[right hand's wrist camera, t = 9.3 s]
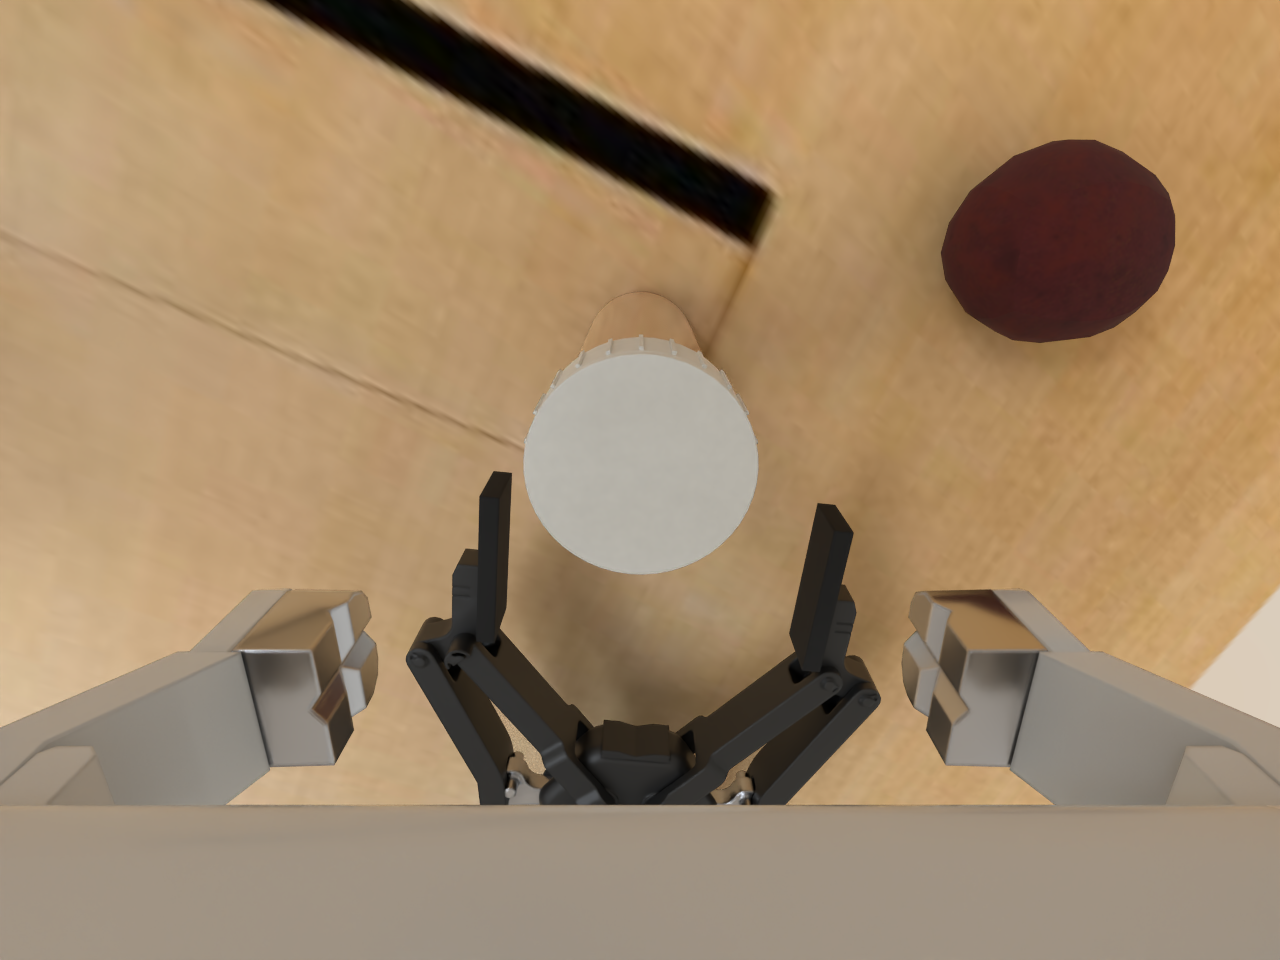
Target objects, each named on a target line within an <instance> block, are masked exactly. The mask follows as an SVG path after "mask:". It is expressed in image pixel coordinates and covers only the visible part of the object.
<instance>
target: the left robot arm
mask: <svg viewBox="0 0 1280 960" xmlns="http://www.w3.org/2000/svg"><path fill="white" fill-rule="evenodd" d="M511 483H512V473H507V472H497V471H494V472H493V473H492V475H491V477H490V479H489V481H488V482H487V484H486V486H485V488H484V489H483V491H482V493H481V495H480V499H479V542H478V550H475V549H465V551H464V553H463V555H462V557H461V559H460V561H459V563H458V565H457V567H456V569H455V571H454V573H453V575H452V586H453V588H452V595H453V596H452V618H450V619H447V620H443V619H441V618H437V617H432V618H429V619H427V620H426V621H425V622H424V623H423V625H422V627H421V629H420V631H419V633H418V635H417V637H416V638H415V640H414V642H413V644H412V646H411V648H410V650H409V652H408V654H407V656H406V662H407V665H408V667H409V668H410V670H411V672H412V674H413V675H414V677H415V679H416V680H417V682H418V684H419V685H420V687H421V689H422V690H423V692H424V694H425V695H426V697H427V699H428V700H429V702H430V704H431V705H432V707H433V709H434V711H435V712H436V714H437V716H438V717H439V719H440V721H441V722H442V724H443V726H444V727H445V729H446V731H447V732H448V734H449V736H450V737H451V739H452V741H453V743H454V744H455V746H456V748H457V749H458V751H459V753H460V754H461V756H462V758H463V759H464V761H465V763H466V764H467V766H468V768H469V769H470V771H471V773H472V774H473V776H474V778H475V780H476V781H477V783H478V791H479V799H480V805H786V804H787V802H788V801H789V800H790V799H791V798H792V797H793V796H794V795H795V794H796V793H797V792H798V791H799V790H800V789H801V788H802V787H803V785H804V784H805V783H806V782H807V781H808V780H809V779H810V778H811V777H812V776H813V775H814V774H815V773H816V772H817V771H818V770H819V768H820V767H821V766H822V765H823V764H824V763H825V762H826V761H827V760H828V759H829V758H830V757H831V756H832V755H833V754H834V753H835V752H836V750H837V749H838V748H839V747H840V746H841V745H842V744H843V743H844V742H845V741H846V740H847V739H848V738H849V737H850V736H851V735H852V733H853V732H854V731H855V730H856V729H857V728H858V727H859V726H860V725H861V724H862V723H863V722H864V721H865V720H866V719H867V718H868V716H869V715H870V714H871V713H872V712H873V711H874V710H875V709H876V708H877V707H878V705H879V704H880V701H881V697H880V695H879V693H878V690H877V688H876V686H875V684H874V682H873V680H872V678H871V676H870V674H869V672H868V670H867V668H866V666H865V664H864V662H863V660H862V659H861V658H860V657H858V656H855V655H854V656H847V657H846V656H845V655H846V651H847V647H848V644H849V640H850V636H851V632H852V628H853V624H854V620H855V616H856V609H855V603H854V601H853V599H852V597H851V595H850V593H849V592H848V590H847V588H846V586H845V585H841V583H842V579H843V575H844V571H845V567H846V562H847V558H848V554H849V550H850V546H851V542H852V538H853V534H854V533H853V531H852V530H851V528H850V527H849V525H848V524H847V522H846V521H845V519H844V518H843V516H842V514H841V513H840V511H839V510H838V508H837V507H836V505H830V504H820V503H818V504H817V509H816V513H815V518H814V522H813V527H812V532H811V536H810V541H809V545H808V550H807V555H806V559H805V564H804V568H803V573H802V578H801V582H800V587H799V591H798V596H797V600H796V605H795V610H794V614H793V619H792V623H791V628H790V633H789V634H790V637H791V640H792V643H793V646H794V649H795V652H794V653H793V654H791V655H790V656H789V657H787V658H786V659H785V660H783V661H782V662H781V663H779V664H778V665H777V666H775V667H774V668H773V669H771V670H770V671H769V672H767V673H766V674H765V675H763V676H762V677H760V678H759V679H758V680H756V681H755V682H754V683H752V684H751V685H750V686H748V687H747V688H746V689H744V690H743V691H742V692H740V693H739V694H738V695H736V696H735V697H734V698H732V699H731V700H730V701H728V702H727V703H726V704H724V705H723V706H722V707H720V708H719V709H717V710H716V711H715V712H713V713H712V714H711V715H709V716H708V717H704V716H698V717H696V718H695V719H694V720H692V721H691V722H690V723H688V724H687V725H686V726H684V727H683V728H682V729H680V730H679V731H678V732H676V733H674V732H671V731H669V725H657V724H650V725H642V726H633V725H630V724H627V723H624V722H620V721H611V720H604V724H603V725H600V726H596V727H593V726H592V724H591V723H590V722H589V721H588V720H587V719H586V718H585V716H584V715H583V714H582V713H581V712H580V711H579V710H578V708H577V707H576V706H574V705H573V704H571V705H567V704H566V703H565V702H564V701H563V700H562V698H561V697H560V696H559V695H558V694H557V693H556V692H555V691H554V689H553V688H552V687H551V686H550V685H549V684H548V683H547V681H546V680H545V679H544V678H543V677H542V676H541V675H540V674H539V672H538V671H537V670H536V669H535V668H534V667H533V666H532V664H531V663H530V662H529V661H528V660H527V659H526V658H525V657H524V655H523V654H522V653H521V652H520V651H519V650H518V649H517V647H516V646H515V645H514V644H513V643H512V642H511V641H510V640H509V638H508V637H507V636H506V635H505V634H504V633H503V632H502V630H501V629H500V625H501V622H502V619H503V616H504V613H505V610H506V603H507V579H508V555H509V531H510V507H511ZM490 700H491V701H492V702H493V703H494V704H495V705H496V706H497V707H498V708H499V710H500V711H501V712H502V713H503V714H504V715H505V716H506V717H507V718H508V719H509V720H510V721H511V722H512V724H513V725H514V726H515V727H516V728H517V729H518V730H519V731H520V732H521V733H522V734H523V735H524V736H525V737H526V739H527V740H528V741H529V742H530V743H531V744H532V745H533V746H534V747H535V748H536V749H537V750H538V751H539V753H540V754H541V756H542V760H543V764H544V766H545V768H546V770H545V771H544V773H543V774H536V773H534V772H532V771H531V770H530V769H529V767H528V765H527V763H526V762H525V761H524V755H523V753H521V752H518V751H517V752H514V751H513V745H512V742H511V739H510V736H509V734H508V732H507V730H506V728H505V726H504V725H503V723H502V721H501V719H500V717H499V716H498V714H497V712H496V710H495V708H494V707H493V705H492V703H491V701H490ZM766 743H767V744H766ZM765 744H766V745H765ZM763 745H765V746H764V747H763V748H762V749H761V750H760V751H759V753H758V754H757V755H756V756H755V758H754V759H753V761H752V762H751V764H750V766H749V768H748V770H747V772H745V771H739V772H737V773H736V780H734V782H733V783H732V784H731V785H730V786H729V787H728V788H726V789H722V790H717V789H716V788H717V787H719V786H720V785H721V784H722V783H723V782H724V781H725V779H726V776H727V774H728V771H729V770H730V769H731V768H732V767H734V766H735V765H737V764H738V763H739V762H741V761H742V760H744V759H745V758H746V757H748V756H749V755H751V754H752V753H753V752H755V751H756V750H758V749H759V748H760V747H762V746H763ZM694 753H696V757H695V756H694Z"/></svg>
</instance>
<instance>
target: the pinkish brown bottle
mask: <svg viewBox="0 0 1280 960" xmlns="http://www.w3.org/2000/svg"><path fill="white" fill-rule="evenodd" d="M639 335H643V337H648V338H658V339H663V340H668V341H669V340H670V338H671V339H674V342H675V343H677V344H680V345H683V346H685V347H687V348H689V349H691V350H693V351H695V352H698V350H699V351H700V352H701V349H700V347H699V345H698V342H697V340H696V338H695V336H694V333H693V331H692V329H691V326H690V324H689V322H688V320H687V318H686V317H685V315H684V314H683V312H682V311H681V310H680V309H679V308H678V307H677V306H676V305H675V304H674V303H673V302H671V301H670V300H668V299H666V298H664V297H662V296H660V295H657V294H654V293H649V292H632V293H628V294H624V295H621V296H619V297H617V298H615V299H613V300H612V301H610V302H609V303H607V304H606V305H605V306H604V307H603V308H602V309H601V310H600V312H599V313H598V314H597V316H596V317H595V319H594V321H593V323H592V325H591V327H590V330H589V332H588V334H587V337H586V339H585V341H584V344H583V346H582V348H581V351H580V352H582V351H583V350H584V351H585V352H587V351H589V350H591V349H593V348H595V347H597V346H599V345H602V344H605V343H607V342H608V339H611V338H612V339H613V341H614V340H619V339H624V338H634V337H639ZM579 355H580V353H579ZM579 355H578V357H579ZM703 357H704V356H703Z"/></svg>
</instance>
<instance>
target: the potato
mask: <svg viewBox="0 0 1280 960" xmlns="http://www.w3.org/2000/svg"><path fill="white" fill-rule="evenodd" d="M1174 247H1175V214H1174V210H1173V207H1172V203H1171V200H1170V197H1169V193H1168V192H1167V191H1166V189H1165V188H1164V186H1163V185H1162V184H1161V182H1160V181H1159V179H1158V178H1157V177H1156V175H1154V174H1153V173H1152V172H1150V171H1149V170H1147V169H1146V168H1145V167H1143V166H1142V165H1140V164H1139V163H1138V162H1136V161H1135V160H1133V159H1132V158H1131V157H1129V156H1128V155H1126V154H1125V153H1123V152H1122V151H1119V150H1117V149H1115V148H1112V147H1110V146H1108V145H1105V144H1103V143H1101V142H1099V141H1096V140H1061V141H1052V142H1050V143H1047V144H1044V145H1042V146H1039V147H1037V148H1034V149H1031V150H1029V151H1026V152H1023V153H1021V154H1018V155H1015V156H1013V157H1012V158H1011V159H1010V160H1008V161H1007V162H1006V163H1005V164H1003V165H1002V166H1001V167H1000V168H998V169H997V170H996V171H995V172H993V173H992V174H991V175H990V176H988V177H987V178H986V179H985V180H983V181H982V182H981V183H980V184H978V185H977V186H976V187H975V188H973V189H972V190H971V191H970V192H969V194H968V195H967V197H966V198H965V200H964V201H963V203H962V204H961V206H960V207H959V209H958V210H957V212H956V213H955V215H954V216H953V218H952V219H951V221H950V222H949V225H948V229H947V233H946V236H945V240H944V244H943V247H942V251H941V256H942V262H943V269H944V275H945V280H946V282H947V283H948V285H949V287H950V288H951V290H952V291H953V293H954V294H955V296H956V298H957V299H958V301H959V302H960V304H961V305H962V307H963V308H964V310H965V312H967V313H968V314H969V315H971V316H972V317H974V318H975V319H977V320H978V321H980V322H981V323H983V324H984V325H986V326H987V327H989V328H991V329H992V330H994V331H995V332H997V333H1000V334H1002V335H1004V336H1006V337H1008V338H1010V339H1012V340H1017V341H1027V342H1037V343H1043V342H1051V341H1060V340H1068V339H1076V338H1085V337H1091V336H1093V335H1096V334H1098V333H1101V332H1103V331H1106V330H1108V329H1111V328H1114V327H1115V326H1117V325H1118V324H1119V323H1121V322H1122V321H1124V320H1125V319H1126V318H1128V317H1129V316H1131V315H1132V314H1133V313H1135V312H1136V311H1137V310H1138V309H1139V308H1140V307H1141V306H1142V305H1143V304H1144V303H1145V302H1146V301H1147V300H1148V299H1149V298H1150V297H1151V296H1152V295H1154V294H1155V293H1156V292H1157V291H1158V289H1159V287H1160V285H1161V283H1162V281H1163V279H1164V277H1165V276H1166V274H1167V272H1168V269H1169V266H1170V262H1171V258H1172V254H1173V251H1174Z"/></svg>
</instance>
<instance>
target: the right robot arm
mask: <svg viewBox="0 0 1280 960" xmlns="http://www.w3.org/2000/svg"><path fill="white" fill-rule="evenodd" d="M370 619H371V612H370V607H369V602H368V597H367V596H366V595H365V594H364V593H363V592H362V591H357V590H305V589H295V590H292V589H261V590H254V591H252V592H250V593H249V594H248V595H247V596H246V597H245V598H244V599H243V600H242V601H241V602H240V603H239V604H238V605H237V606H236V607H235V608H234V609H233V610H232V611H231V612H230V613H229V614H228V615H227V616H226V617H225V618H224V619H223V620H222V621H221V622H219V623H218V624H217V625H216V626H215V627H214V628H213V629H212V630H211V631H210V632H209V633H208V634H207V635H206V636H205V637H204V638H203V639H202V640H201V641H200V642H199V643H198V644H197V645H196V646H195V647H194V648H193V649H192V650H191V651H190V652H176V653H174V654H171V655H169V656H167V657H164V658H162V659H160V660H157V661H155V662H153V663H150V664H148V665H146V666H143V667H141V668H139V669H136V670H134V671H132V672H129V673H127V674H125V675H122V676H120V677H118V678H115V679H113V680H111V681H108V682H106V683H104V684H101V685H99V686H97V687H94V688H92V689H90V690H87V691H85V692H83V693H80V694H78V695H76V696H73V697H71V698H69V699H66V700H64V701H62V702H59V703H57V704H55V705H52V706H50V707H48V708H45V709H43V710H41V711H38V712H36V713H34V714H31V715H29V716H27V717H24V718H22V719H20V720H17V721H15V722H13V723H10V724H8V725H6V726H3V727H1V728H0V960H1280V728H1279V727H1276V726H1274V725H1272V724H1269V723H1267V722H1265V721H1262V720H1260V719H1258V718H1255V717H1253V716H1251V715H1248V714H1246V713H1244V712H1241V711H1239V710H1237V709H1234V708H1232V707H1230V706H1227V705H1225V704H1223V703H1220V702H1218V701H1216V700H1213V699H1211V698H1209V697H1207V696H1204V695H1202V694H1199V693H1197V692H1195V691H1193V690H1190V689H1188V688H1186V687H1183V686H1181V685H1179V684H1176V683H1174V682H1172V681H1169V680H1167V679H1165V678H1162V677H1160V676H1158V675H1155V674H1153V673H1151V672H1148V671H1146V670H1144V669H1141V668H1139V667H1137V666H1134V665H1132V664H1130V663H1127V662H1125V661H1123V660H1120V659H1118V658H1116V657H1113V656H1111V655H1109V654H1106V653H1104V652H1091V651H1090V650H1088V649H1087V648H1086V647H1085V646H1084V645H1083V644H1082V643H1081V642H1080V641H1079V640H1078V639H1077V638H1076V637H1075V636H1074V635H1073V634H1072V633H1071V632H1070V631H1069V630H1068V629H1067V628H1066V627H1065V626H1064V625H1063V624H1062V623H1061V622H1060V621H1059V620H1058V619H1057V618H1055V617H1054V616H1053V615H1052V614H1051V613H1050V612H1049V611H1048V610H1047V609H1046V608H1045V607H1044V606H1043V605H1042V604H1041V603H1040V602H1039V601H1038V600H1037V599H1036V598H1035V597H1034V596H1033V595H1032V594H1031V593H1030V592H1028V591H1026V590H1023V589H1020V588H1019V589H995V590H991V589H990V590H949V591H921V592H916V593H915V595H914V597H913V599H912V601H911V605H910V611H909V619H910V620H911V622H912V624H913V625H914V627H915V628H916V630H917V631H916V632H915V633H914V634H913V635H912V636H911V637H910V638H909V639H908V640H907V641H906V642H905V643H904V648H903V656H902V674H903V683H904V686H905V689H906V693H907V696H908V698H909V699H910V701H911V703H912V705H913V707H914V708H915V709H916V710H918V711H920V712H921V713H923V714H924V715H926V716H927V717H928V722H927V728H926V731H927V733H928V734H929V736H930V738H931V740H932V741H933V743H934V745H935V747H936V749H937V750H938V752H939V754H940V756H941V758H942V759H943V761H944V763H945V765H953V766H990V767H1010V770H1011V771H1012V772H1013V773H1014V774H1016V775H1017V776H1018V777H1020V778H1021V779H1022V780H1024V781H1025V782H1026V783H1027V784H1029V785H1030V786H1031V787H1033V788H1034V789H1035V790H1036V791H1038V792H1039V793H1040V794H1042V795H1043V796H1044V797H1046V798H1047V799H1048V800H1049V801H1051V802H1052V803H1053V804H1055V805H226V804H227V803H228V802H230V801H231V800H232V799H233V798H235V797H236V796H237V795H239V794H240V793H241V792H242V791H244V790H245V789H246V788H248V787H249V786H250V785H252V784H253V783H254V782H255V781H257V780H258V779H259V778H261V777H262V776H263V775H265V774H266V773H267V772H268V771H270V767H290V766H325V765H335V763H336V761H337V759H338V758H339V756H340V754H341V752H342V750H343V749H344V747H345V745H346V743H347V742H348V740H349V738H350V736H351V734H352V733H353V731H354V728H353V722H352V717H353V716H354V715H356V714H357V713H359V712H360V711H362V710H364V709H365V708H366V707H367V705H368V703H369V701H370V699H371V697H372V695H373V694H374V689H375V685H376V681H377V676H378V654H377V647H376V643H375V642H374V641H373V640H372V639H371V638H370V637H369V636H368V635H367V634H366V633H365V632H364V631H363V630H364V628H365V627H366V625H367V624H368V622H369V620H370Z"/></svg>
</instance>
